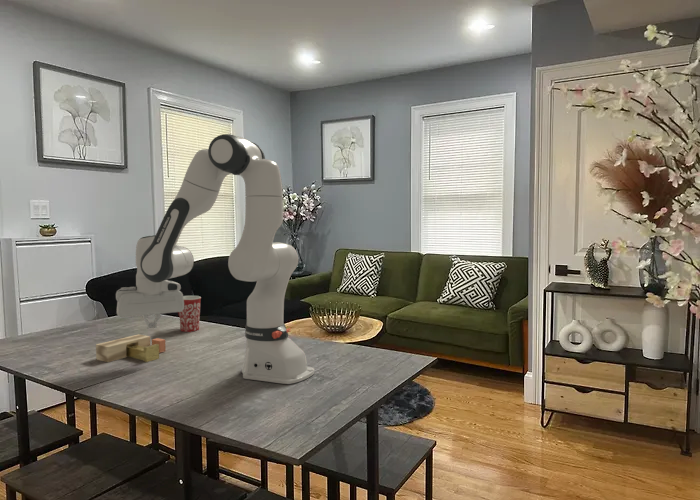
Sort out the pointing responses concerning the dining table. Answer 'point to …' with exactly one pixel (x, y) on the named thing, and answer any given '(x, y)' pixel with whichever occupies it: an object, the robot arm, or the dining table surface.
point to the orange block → (161, 344)
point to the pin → (143, 352)
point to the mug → (190, 314)
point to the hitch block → (119, 347)
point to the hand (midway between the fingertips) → (151, 327)
